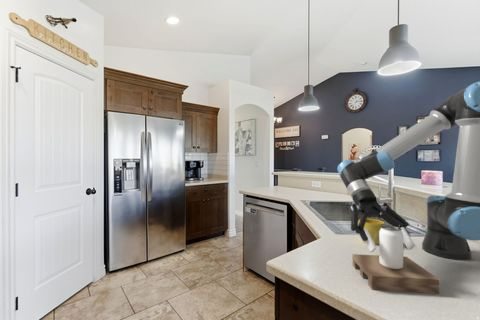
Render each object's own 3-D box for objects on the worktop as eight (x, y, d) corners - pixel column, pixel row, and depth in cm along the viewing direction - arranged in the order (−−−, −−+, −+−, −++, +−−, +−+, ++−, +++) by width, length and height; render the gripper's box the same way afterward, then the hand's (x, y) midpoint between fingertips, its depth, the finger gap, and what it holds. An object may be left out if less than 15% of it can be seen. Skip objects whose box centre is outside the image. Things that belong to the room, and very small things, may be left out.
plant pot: (377, 238, 113) (377, 218, 113) (389, 246, 103) (389, 224, 103) (355, 238, 114) (355, 218, 114) (364, 246, 104) (364, 223, 104)
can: (391, 271, 72) (391, 231, 72) (374, 262, 78) (374, 225, 78) (408, 268, 73) (408, 229, 73) (390, 260, 80) (390, 224, 80)
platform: (406, 268, 82) (406, 256, 82) (439, 293, 67) (439, 279, 67) (352, 265, 85) (352, 254, 85) (372, 289, 69) (372, 275, 69)
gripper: (386, 199, 94) (420, 251, 79) (327, 201, 90) (351, 256, 75) (396, 187, 89) (435, 241, 74) (334, 188, 85) (362, 245, 70)
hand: (393, 248), depth 75 cm, fingers open, 13 cm apart
